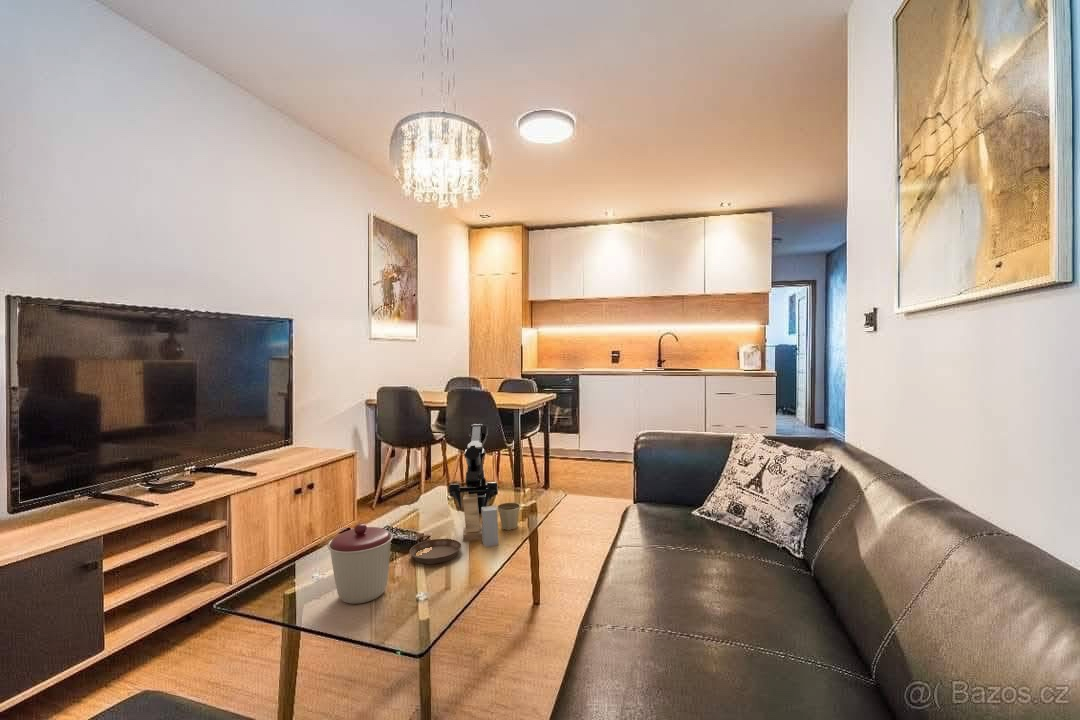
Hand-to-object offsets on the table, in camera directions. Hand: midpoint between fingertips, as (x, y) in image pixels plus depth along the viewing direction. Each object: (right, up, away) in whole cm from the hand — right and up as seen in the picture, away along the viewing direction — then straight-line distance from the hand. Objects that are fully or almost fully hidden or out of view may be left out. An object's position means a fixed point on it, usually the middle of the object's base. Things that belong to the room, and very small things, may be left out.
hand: (472, 509), depth 187 cm
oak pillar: (0, -8, +1) cm, 8 cm away
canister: (-27, -13, -42) cm, 51 cm away
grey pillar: (+7, -11, -6) cm, 14 cm away
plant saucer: (-11, -12, -15) cm, 22 cm away
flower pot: (+13, -10, +10) cm, 20 cm away
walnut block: (0, -11, +1) cm, 11 cm away
